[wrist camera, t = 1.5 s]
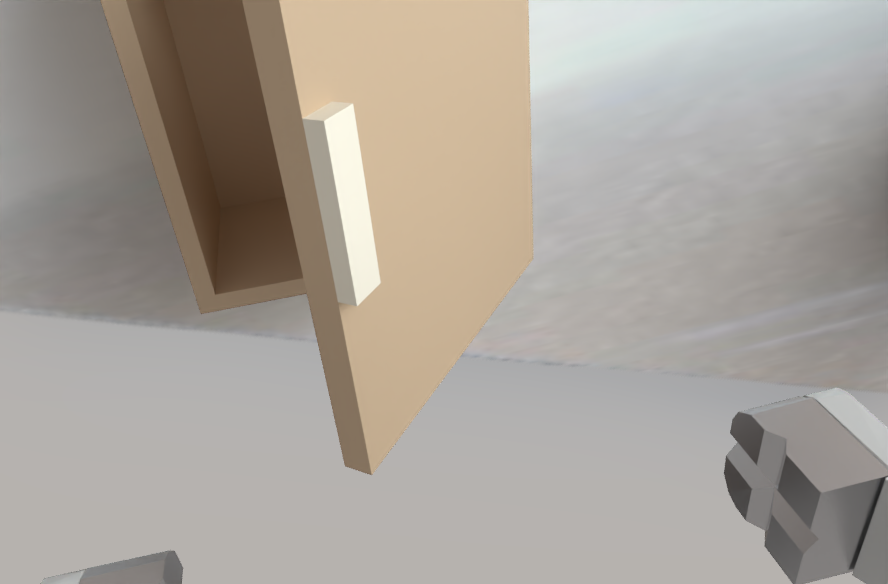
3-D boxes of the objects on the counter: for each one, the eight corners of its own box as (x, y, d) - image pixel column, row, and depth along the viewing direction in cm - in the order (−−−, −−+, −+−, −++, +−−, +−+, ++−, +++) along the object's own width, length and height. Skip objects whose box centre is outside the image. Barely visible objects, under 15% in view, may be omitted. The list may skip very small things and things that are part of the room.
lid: (494, -226, 24) (541, -232, 23) (512, 255, 33) (545, 260, 33) (191, -228, 13) (259, -238, 13) (345, 466, 23) (388, 480, 22)
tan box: (429, -208, 32) (493, -225, 24) (459, 172, 42) (512, 254, 33) (96, -177, 30) (40, -184, 22) (209, 216, 40) (200, 313, 31)
